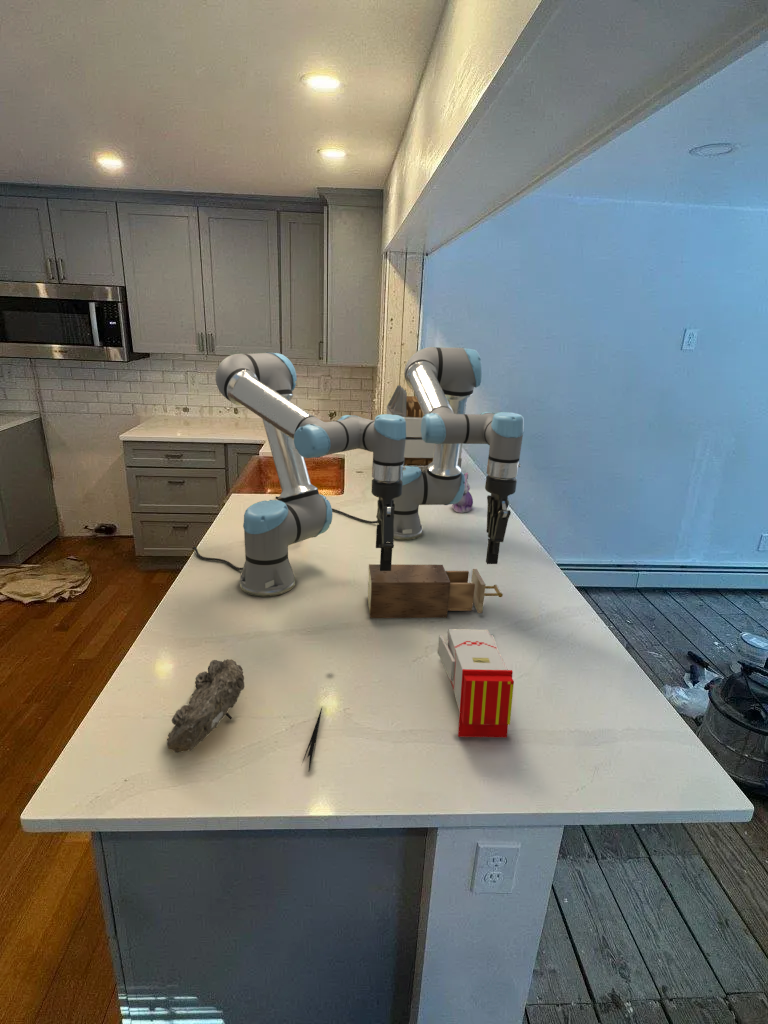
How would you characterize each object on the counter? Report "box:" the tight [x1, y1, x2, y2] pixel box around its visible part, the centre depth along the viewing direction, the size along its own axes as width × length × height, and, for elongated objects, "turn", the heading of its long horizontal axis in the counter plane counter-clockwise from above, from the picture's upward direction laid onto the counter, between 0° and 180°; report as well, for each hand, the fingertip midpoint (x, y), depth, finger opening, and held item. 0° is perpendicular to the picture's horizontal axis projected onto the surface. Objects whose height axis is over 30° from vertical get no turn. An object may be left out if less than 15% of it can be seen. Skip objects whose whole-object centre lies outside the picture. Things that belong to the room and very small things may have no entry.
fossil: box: [166, 658, 245, 754], centre depth 106 cm, size 22×10×15 cm
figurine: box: [451, 472, 474, 514], centre depth 225 cm, size 9×10×15 cm
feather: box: [301, 673, 332, 771], centre depth 108 cm, size 2×28×2 cm
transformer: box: [385, 384, 463, 469], centre depth 268 cm, size 34×33×41 cm
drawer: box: [445, 568, 504, 614], centre depth 150 cm, size 24×9×8 cm, turn 95°
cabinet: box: [367, 563, 450, 619], centre depth 149 cm, size 20×10×10 cm, turn 95°
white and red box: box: [437, 628, 515, 738], centre depth 117 cm, size 12×13×30 cm
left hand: (382, 558), depth 145 cm, fingers open, 13 cm apart
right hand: (491, 562), depth 148 cm, fingers closed
